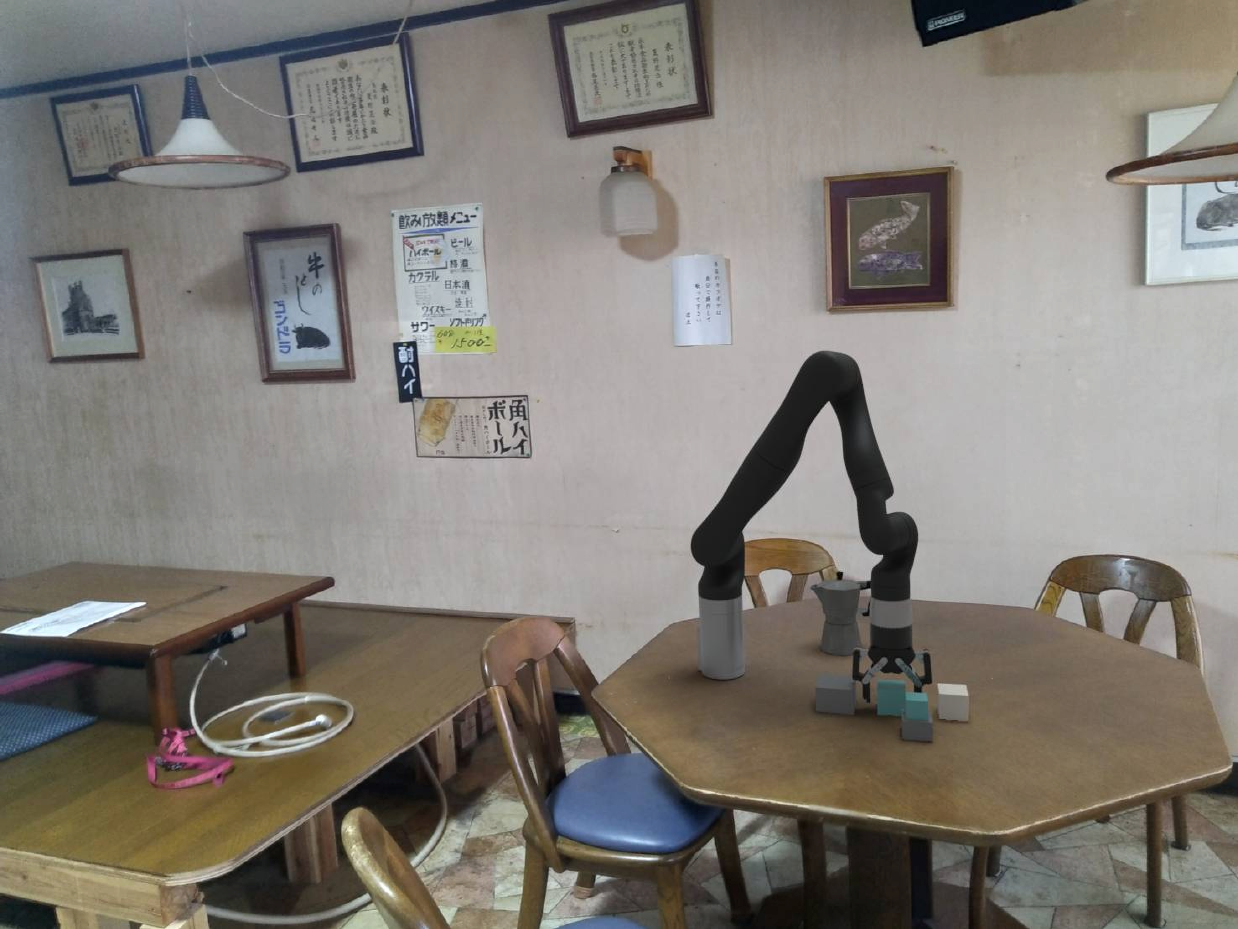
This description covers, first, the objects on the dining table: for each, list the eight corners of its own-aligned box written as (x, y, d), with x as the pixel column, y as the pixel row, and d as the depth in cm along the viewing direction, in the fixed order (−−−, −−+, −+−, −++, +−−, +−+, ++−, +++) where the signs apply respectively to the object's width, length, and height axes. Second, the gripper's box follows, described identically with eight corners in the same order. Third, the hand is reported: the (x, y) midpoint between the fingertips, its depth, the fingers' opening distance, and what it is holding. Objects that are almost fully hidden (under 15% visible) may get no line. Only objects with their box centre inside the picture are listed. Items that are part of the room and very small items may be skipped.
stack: (902, 739, 154) (902, 701, 153) (901, 727, 159) (901, 690, 158) (932, 741, 153) (932, 703, 152) (931, 729, 158) (931, 691, 157)
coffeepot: (815, 657, 195) (813, 578, 192) (808, 642, 204) (806, 567, 202) (885, 655, 194) (885, 575, 191) (875, 640, 203) (874, 564, 201)
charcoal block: (815, 712, 167) (815, 687, 167) (819, 697, 174) (819, 673, 173) (853, 715, 165) (853, 690, 164) (856, 700, 172) (855, 676, 171)
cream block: (939, 720, 161) (939, 694, 161) (937, 708, 166) (937, 683, 165) (968, 722, 160) (968, 695, 159) (966, 710, 165) (966, 685, 164)
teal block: (877, 715, 165) (877, 689, 164) (877, 704, 169) (877, 679, 169) (905, 717, 163) (905, 691, 163) (905, 706, 168) (904, 681, 167)
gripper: (930, 614, 165) (930, 697, 168) (851, 612, 169) (853, 692, 172) (932, 627, 158) (933, 713, 160) (850, 624, 162) (852, 708, 165)
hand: (891, 702), depth 166 cm, fingers open, 8 cm apart
